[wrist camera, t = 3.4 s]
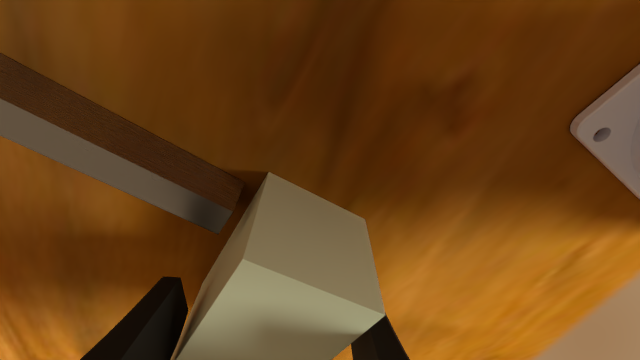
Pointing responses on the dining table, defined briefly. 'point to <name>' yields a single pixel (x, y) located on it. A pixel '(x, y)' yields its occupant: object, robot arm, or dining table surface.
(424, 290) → the dining table surface
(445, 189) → the dining table surface
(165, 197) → the strip
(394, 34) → the dining table surface
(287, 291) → the cabinet block
